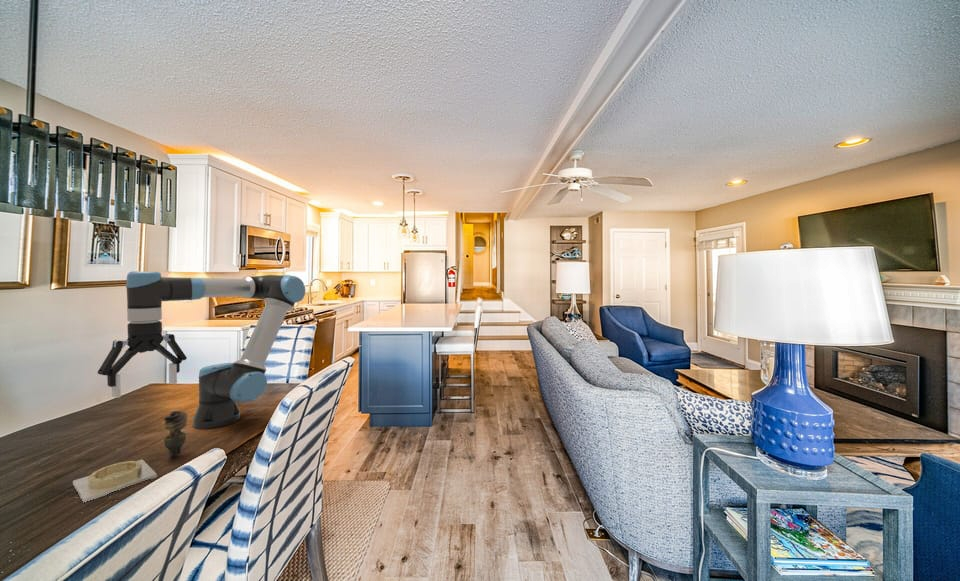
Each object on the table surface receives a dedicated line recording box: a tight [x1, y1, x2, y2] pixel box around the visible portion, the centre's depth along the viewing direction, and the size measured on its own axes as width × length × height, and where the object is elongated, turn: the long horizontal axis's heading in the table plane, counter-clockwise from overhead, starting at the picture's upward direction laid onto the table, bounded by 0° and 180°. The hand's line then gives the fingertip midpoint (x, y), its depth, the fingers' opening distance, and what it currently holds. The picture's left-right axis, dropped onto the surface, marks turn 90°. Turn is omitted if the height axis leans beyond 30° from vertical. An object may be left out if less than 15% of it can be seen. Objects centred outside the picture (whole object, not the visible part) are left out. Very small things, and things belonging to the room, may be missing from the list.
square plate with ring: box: [72, 459, 158, 504], centre depth 96 cm, size 14×14×3 cm
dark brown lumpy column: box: [163, 410, 188, 459], centre depth 109 cm, size 6×6×15 cm
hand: (146, 389), depth 105 cm, fingers open, 13 cm apart
